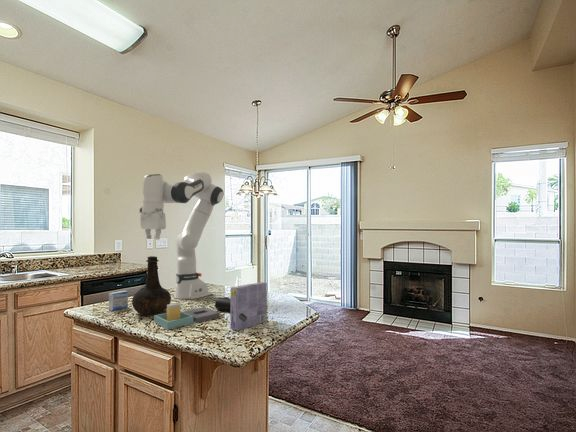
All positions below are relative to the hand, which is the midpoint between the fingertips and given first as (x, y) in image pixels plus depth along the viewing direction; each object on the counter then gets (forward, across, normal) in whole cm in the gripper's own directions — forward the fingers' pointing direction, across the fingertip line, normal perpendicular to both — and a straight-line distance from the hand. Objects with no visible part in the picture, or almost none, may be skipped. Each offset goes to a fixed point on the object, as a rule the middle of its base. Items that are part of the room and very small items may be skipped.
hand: (152, 239), depth 143 cm
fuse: (+36, -11, -5) cm, 38 cm away
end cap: (+37, -11, -33) cm, 51 cm away
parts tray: (+37, -11, -5) cm, 39 cm away
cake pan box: (+37, -36, -28) cm, 59 cm away
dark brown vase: (+37, +13, -5) cm, 40 cm away
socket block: (+37, -11, -18) cm, 43 cm away
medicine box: (+37, +34, +4) cm, 51 cm away
